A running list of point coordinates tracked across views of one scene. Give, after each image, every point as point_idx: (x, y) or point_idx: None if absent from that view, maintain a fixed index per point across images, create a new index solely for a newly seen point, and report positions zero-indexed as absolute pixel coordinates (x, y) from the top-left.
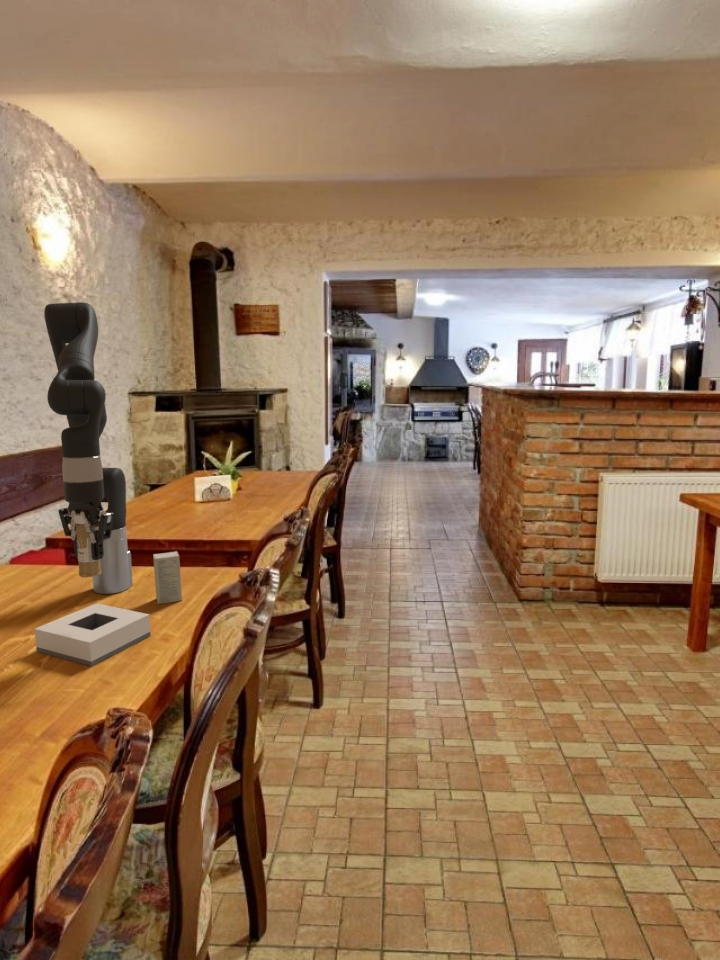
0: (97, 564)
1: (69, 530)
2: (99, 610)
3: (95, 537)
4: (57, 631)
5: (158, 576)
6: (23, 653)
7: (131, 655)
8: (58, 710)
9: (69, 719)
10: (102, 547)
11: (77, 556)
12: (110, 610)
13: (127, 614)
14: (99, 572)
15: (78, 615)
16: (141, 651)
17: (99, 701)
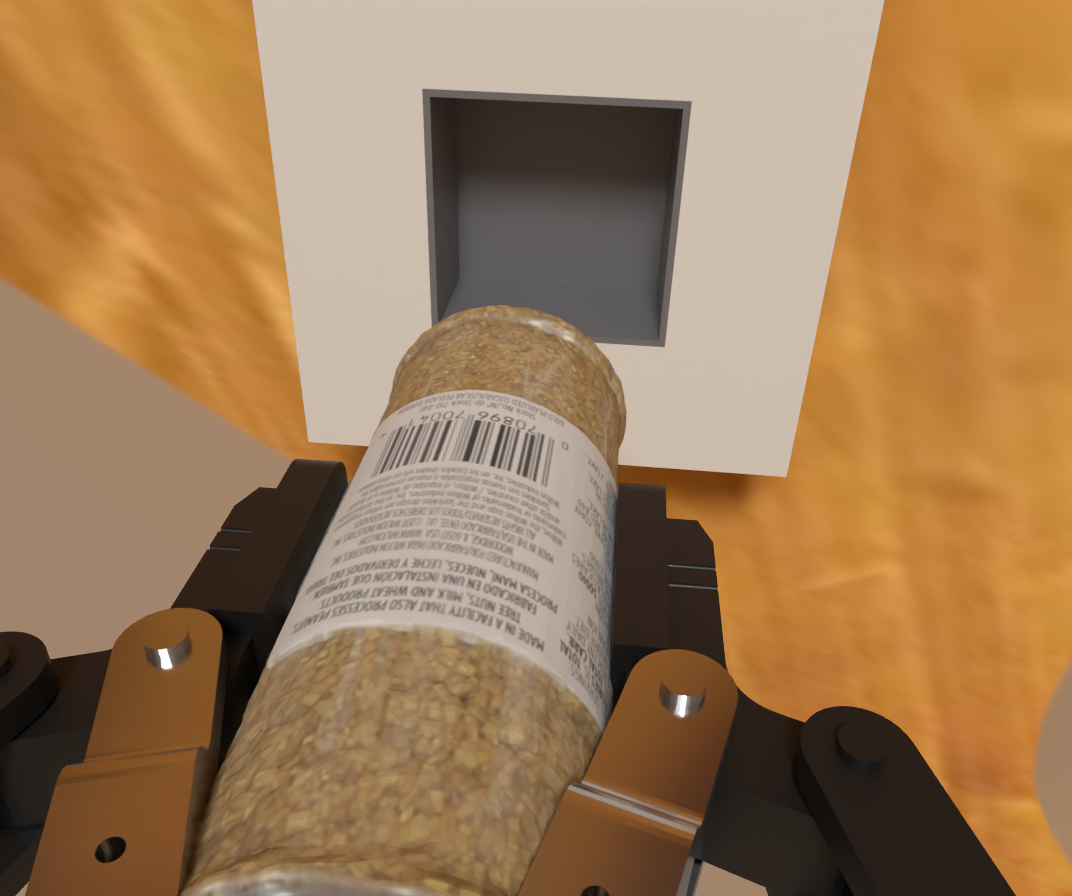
0: (616, 477)
1: (39, 837)
2: (410, 30)
3: (703, 862)
4: None
5: None
6: None
7: (908, 224)
8: (899, 685)
9: (985, 712)
10: (720, 626)
11: None
12: None
13: (704, 3)
14: (620, 405)
15: (354, 182)
16: (941, 154)
17: (1027, 607)
